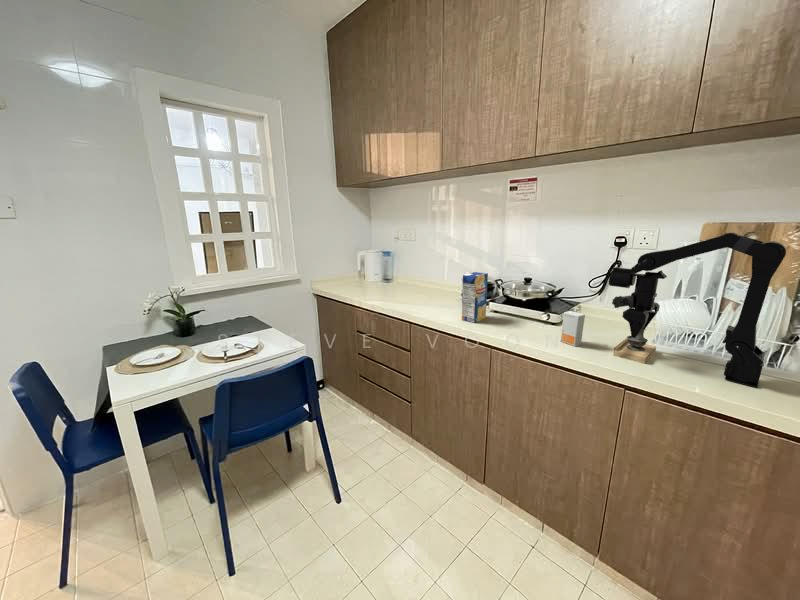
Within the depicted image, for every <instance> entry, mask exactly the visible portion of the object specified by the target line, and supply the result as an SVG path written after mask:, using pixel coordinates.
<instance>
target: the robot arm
mask: <svg viewBox="0 0 800 600" xmlns="http://www.w3.org/2000/svg"><path fill="white" fill-rule="evenodd" d="M725 248H728V249H730V250H734V251H736V252H739V253H742V254H744V255H747V256H750V257H751V277H750V281H749V284H748V287H747V290H746V294H745V297H744V301H743V304H742V307H741V310H740V314H739V317H738V321H737V323H736V324H735V326H732V325H728V326H727V327H726V329H725V336H724V338H723V340H722V342H721V343H722V344H724V348H725V349H724V350H725V351H726V352H727V353H728V354H730V355H731V357H730V359H729V360H727V362H726V364H725V367H724V372H723V376H725V377H724V380H725V381H729V382H733V383H737V384H741V385H744V386H748V387H752V388H759V383H760V378H761V375H762V374H761V373H762V370H763V367H764V359H765V358H764V357H765V352H764V351H763V350H762V349H761V348H759V346H758V345H757V323H758V322H759V317H760V316H761V311H762V308H763V305H764V302H765V299H766V296H767V293H768V289H769V287H770V284H771V280H772V278H773V276H774V275H775V273H776V272H777V270H778V269H779V267H780V265H781V263H782V262H783V260H784V259H785V257H786V255H787V248H786V246H785V245H784V244H783V243H781V242H779V241H775V240H769V241H768V240H767V241H762V240H758V239H754V238H751V237H747V236H744V235H741V234H738V233H736V232H733V231H732V232H726V233H724V234H721V235H719V236H715V237H712V238H709V239H706V240H701V241H698V242H695V243H691V244H687V245H685V246H684V245H682V246H680V247H677V248H671V249H663V250H657V251H651V252H647V253H644V254H642V255H640V256H639V257H638V259H637V263H636V264H635V265H634V266H632V267H631V268H626V267H620V266H618V267H617V266H615V267H613V268H612V271H611V273H610V276H609V278H608V286H610V287H617V288H618V287H619V288H625V289H630V288H631V286H632V287H633V286H634V285H635V286H634V291H633V292H632V293H631V294H630V295H624V296H622V295H619V296H617V295H616V296H615V297H614V298H613V299H612V302H611V304H612V305H613V306H614V309H619V308H622V307H623V308H624V307H628V308H627V309H626V310H624V311H622V318H623V319H624V320H625V321H627V322H628V325H629V329H630V336H631V337H633V338H636V336H637V335H638V334H639V332H640V331H641V329H642V328H643V326H644V325H645V327H644V328H645V329H646V328H647V327H648V326H649V325H650V323H651V322H652V320H654V318H655V316H656V315H657V314H658V312H659V311H660V304H659V303H658V302H655V299H656V298H657V296H658V293H657V290H658V289H657V288H658V283H659V279H660V280H664V279H666V278H667V277H668V275H666V274H665V273H664V272H663V270H659V271H657V272H654V270H656V269H659V268H661V267H664V266H667V265H669V264H671V263H673V262H676V261H678V260H682V259H683V260H684V259H687V258H691V257H694V256H699V255H702V254H707V253H710V252H714V251H717V250H722V249H725ZM642 271H644V272H645V273H640V272H642Z"/></svg>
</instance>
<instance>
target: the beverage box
mask: <svg viewBox="0 0 800 600" xmlns="http://www.w3.org/2000/svg"><path fill="white" fill-rule="evenodd" d="M488 274H489V273H486V272H477V271H474V272H469V273H464V274H462V292H461V293H462V295H461V296H462V297H461V300H462V301H461V321H463V322H468V323H471V324H475V323H478V322H480V321H482V320H484V319H486V318H487V317H486V316H487V297H488V296H487V294H488V278H489V275H488Z"/></svg>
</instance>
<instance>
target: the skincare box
mask: <svg viewBox="0 0 800 600" xmlns="http://www.w3.org/2000/svg"><path fill="white" fill-rule="evenodd" d="M585 318H586V315H585V314H584V313H580V312H575V311H571V310H569V311H565V312H563V319H562V324H561V325H562V326H561V333H560V340H559V341H560V342H561V343H564V344H567V345H570V346H572V347H577V346H580V345H581V344H582V338H583V331H584V324H585Z"/></svg>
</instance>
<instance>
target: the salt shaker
mask: <svg viewBox="0 0 800 600" xmlns="http://www.w3.org/2000/svg"><path fill="white" fill-rule="evenodd" d="M644 327H645V325H644V326H643V328H642V329H641V331H640V332H639V334H638V335H637V336H636V338H633V337H631V335H628V336H627V337H626V338H627V339H628V343H629V344H630V345H627V346H626V347H627V348H628V349H630V350H634V351H645V349H644V348H643V347H642V346H644V345H645V344H647V342H648V339H647V338H646V337H644V333H645V331H646V328H644Z"/></svg>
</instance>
